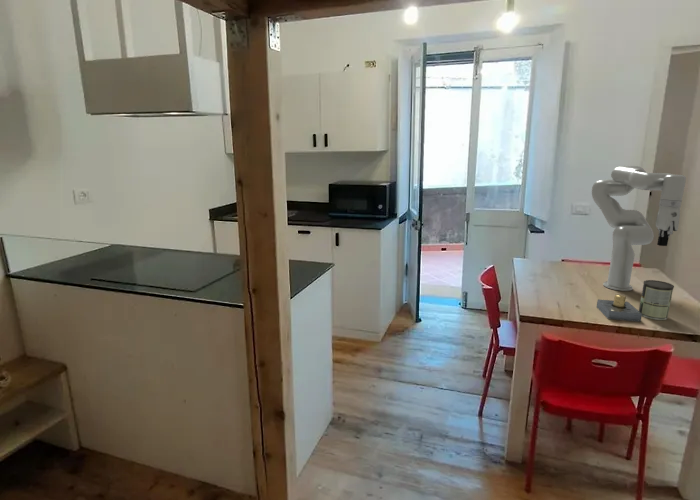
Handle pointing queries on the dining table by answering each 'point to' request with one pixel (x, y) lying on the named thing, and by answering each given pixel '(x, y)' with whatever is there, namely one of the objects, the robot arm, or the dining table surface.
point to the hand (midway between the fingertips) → (662, 245)
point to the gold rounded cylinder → (619, 301)
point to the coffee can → (656, 299)
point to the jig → (619, 311)
